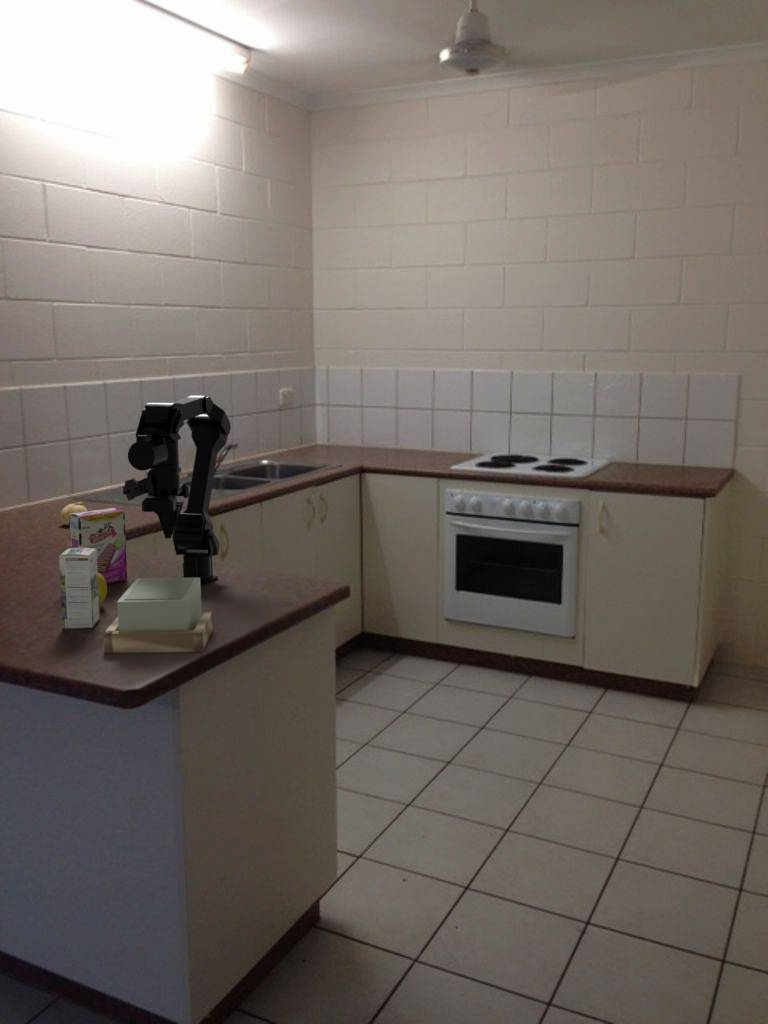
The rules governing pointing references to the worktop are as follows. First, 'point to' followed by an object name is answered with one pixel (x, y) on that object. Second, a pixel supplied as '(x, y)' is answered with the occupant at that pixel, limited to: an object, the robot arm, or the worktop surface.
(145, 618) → the tub
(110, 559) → the candy bar box
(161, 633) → the wooden tray
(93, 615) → the syrup box
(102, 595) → the lemon
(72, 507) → the onion
